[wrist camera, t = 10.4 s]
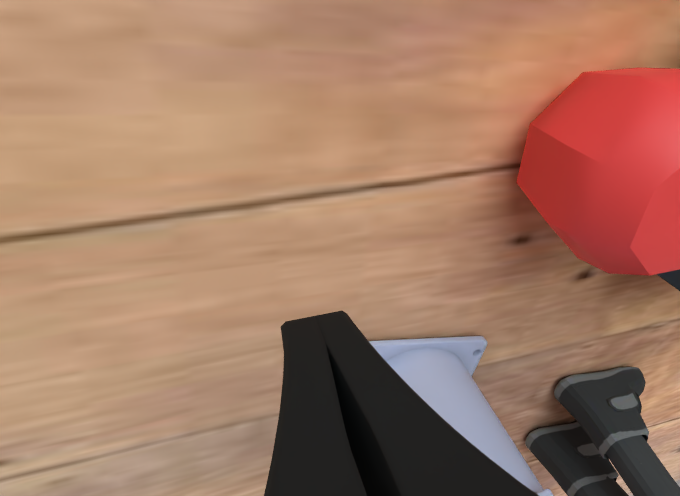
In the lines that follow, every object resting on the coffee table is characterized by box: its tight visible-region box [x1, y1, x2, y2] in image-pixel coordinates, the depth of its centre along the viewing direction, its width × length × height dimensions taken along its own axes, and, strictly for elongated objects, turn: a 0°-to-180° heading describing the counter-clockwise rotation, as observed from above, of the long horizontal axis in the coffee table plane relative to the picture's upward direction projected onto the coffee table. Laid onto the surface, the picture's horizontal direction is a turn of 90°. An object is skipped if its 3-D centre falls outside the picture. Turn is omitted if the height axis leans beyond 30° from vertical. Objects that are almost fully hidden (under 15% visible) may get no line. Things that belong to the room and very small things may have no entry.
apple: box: [516, 68, 680, 275], centre depth 17 cm, size 8×8×8 cm
